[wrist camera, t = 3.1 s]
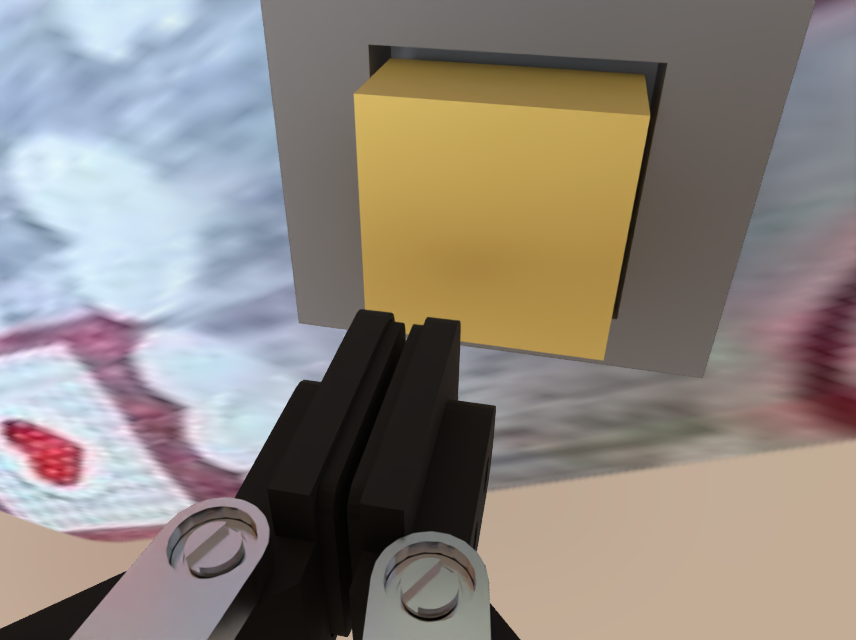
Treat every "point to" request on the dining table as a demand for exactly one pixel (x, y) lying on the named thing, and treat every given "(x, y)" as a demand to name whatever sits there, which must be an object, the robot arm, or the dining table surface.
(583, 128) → the mustard button
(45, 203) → the dining table surface
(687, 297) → the button board
